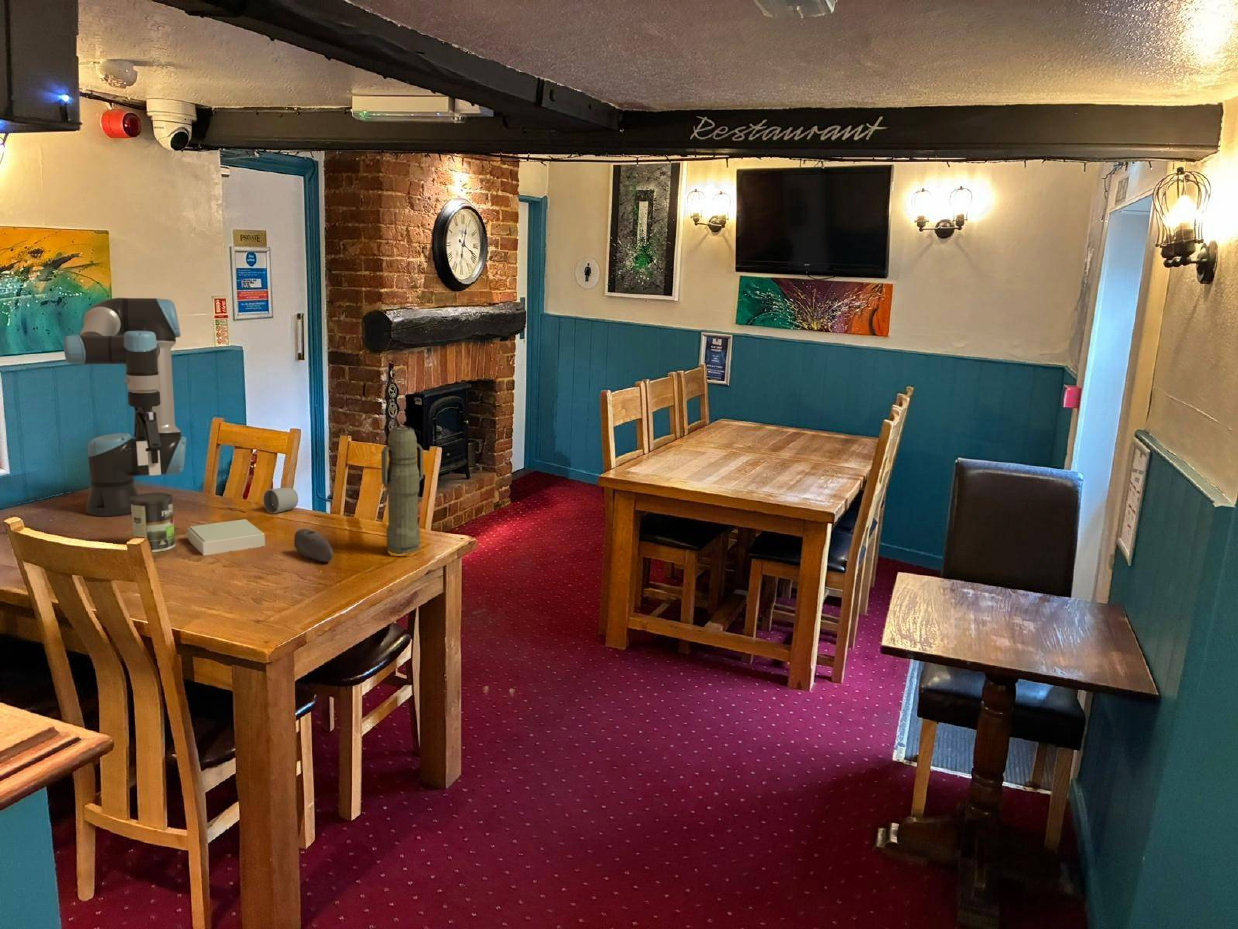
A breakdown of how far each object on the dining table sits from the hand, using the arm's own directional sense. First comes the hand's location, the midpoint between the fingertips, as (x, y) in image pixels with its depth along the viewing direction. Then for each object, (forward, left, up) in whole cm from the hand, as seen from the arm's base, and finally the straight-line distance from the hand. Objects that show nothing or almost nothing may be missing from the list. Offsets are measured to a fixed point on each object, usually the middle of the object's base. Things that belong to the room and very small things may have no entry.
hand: (149, 469), depth 242 cm
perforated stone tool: (+31, +33, -22) cm, 50 cm away
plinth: (+6, +17, -22) cm, 28 cm away
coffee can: (0, 0, -22) cm, 22 cm away
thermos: (+38, +55, -22) cm, 70 cm away
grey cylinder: (-21, +40, -22) cm, 50 cm away
